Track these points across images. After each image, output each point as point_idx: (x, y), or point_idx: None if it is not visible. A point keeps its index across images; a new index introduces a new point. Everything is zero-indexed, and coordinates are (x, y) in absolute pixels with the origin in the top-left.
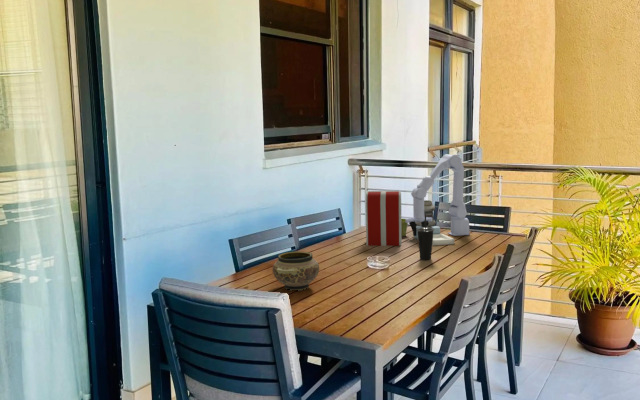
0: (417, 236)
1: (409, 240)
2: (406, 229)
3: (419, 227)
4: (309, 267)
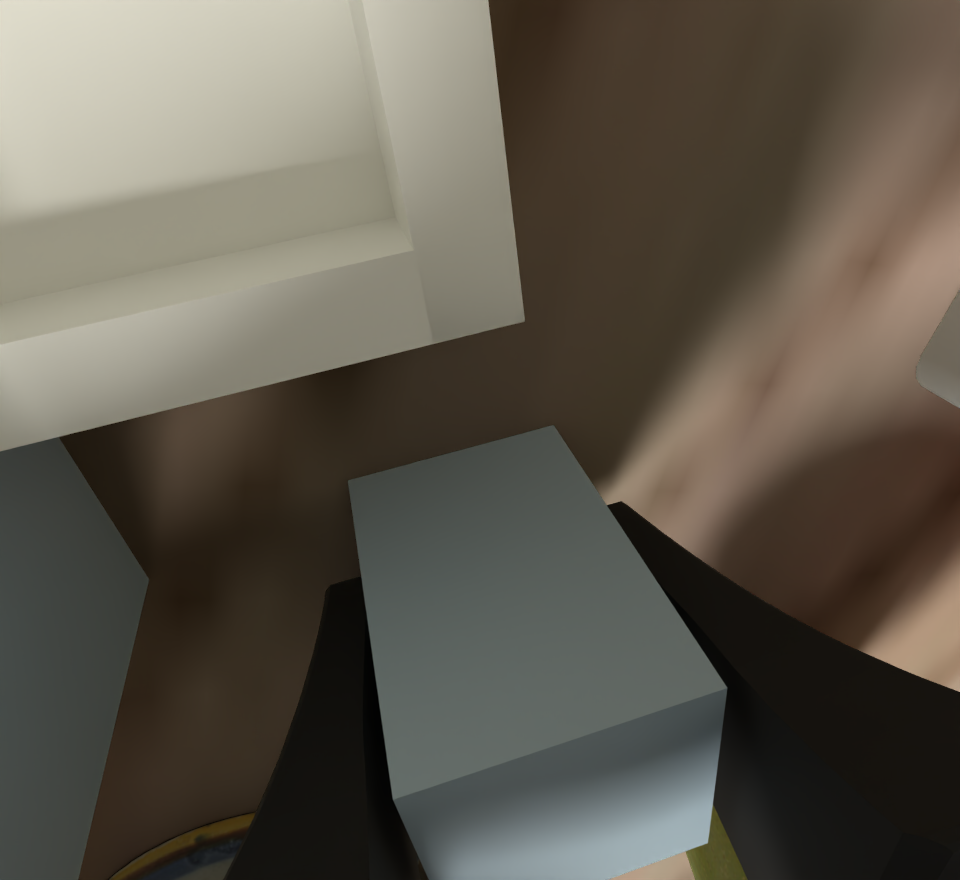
0: (559, 467)
1: (808, 238)
2: (716, 824)
3: (590, 758)
4: None
